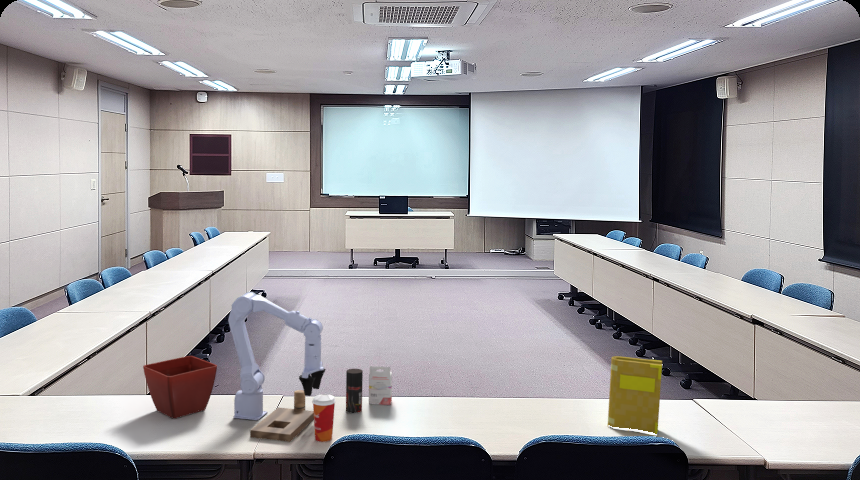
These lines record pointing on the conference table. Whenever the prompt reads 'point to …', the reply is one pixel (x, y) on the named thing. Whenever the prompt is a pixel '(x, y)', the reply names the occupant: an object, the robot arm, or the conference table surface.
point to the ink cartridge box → (380, 386)
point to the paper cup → (323, 417)
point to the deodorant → (354, 390)
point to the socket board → (282, 424)
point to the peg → (299, 400)
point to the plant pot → (180, 385)
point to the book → (634, 393)
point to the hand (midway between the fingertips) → (312, 392)
